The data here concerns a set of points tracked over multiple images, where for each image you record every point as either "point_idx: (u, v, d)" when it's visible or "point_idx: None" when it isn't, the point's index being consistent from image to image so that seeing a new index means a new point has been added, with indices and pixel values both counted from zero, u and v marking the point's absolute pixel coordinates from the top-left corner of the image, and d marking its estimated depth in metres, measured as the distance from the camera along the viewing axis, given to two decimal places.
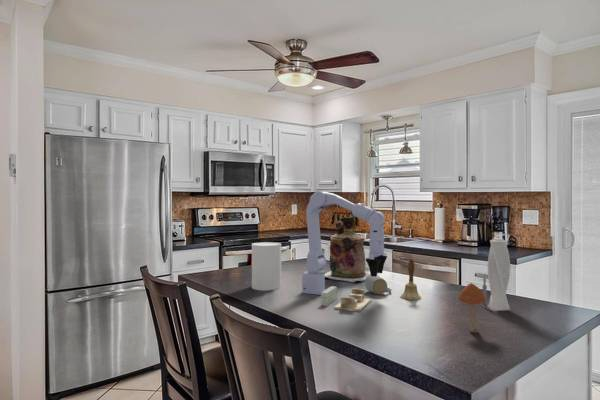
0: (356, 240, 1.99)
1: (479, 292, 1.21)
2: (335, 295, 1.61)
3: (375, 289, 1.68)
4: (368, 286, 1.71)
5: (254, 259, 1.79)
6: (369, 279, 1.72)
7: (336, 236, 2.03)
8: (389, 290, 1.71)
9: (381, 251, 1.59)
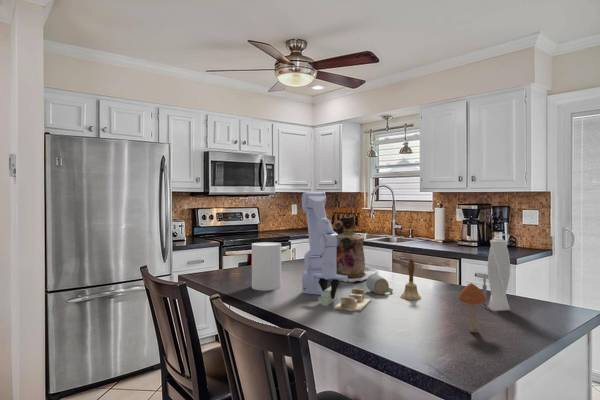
0: (355, 240, 1.99)
1: (479, 292, 1.21)
2: (335, 294, 1.61)
3: (376, 289, 1.68)
4: (369, 286, 1.71)
5: (254, 259, 1.79)
6: (370, 279, 1.72)
7: None
8: (390, 290, 1.71)
9: (323, 274, 1.57)
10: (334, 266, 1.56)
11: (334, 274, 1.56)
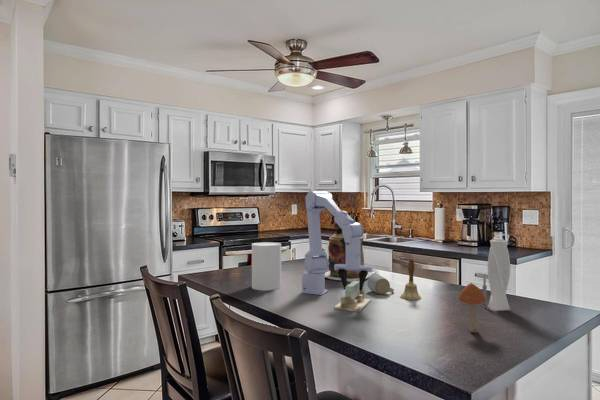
0: None
1: (479, 292, 1.21)
2: (358, 289, 1.57)
3: (378, 289, 1.68)
4: (371, 286, 1.72)
5: (254, 259, 1.79)
6: (372, 279, 1.72)
7: (335, 236, 2.03)
8: (392, 290, 1.71)
9: (347, 264, 1.52)
10: (358, 256, 1.51)
11: (358, 265, 1.51)
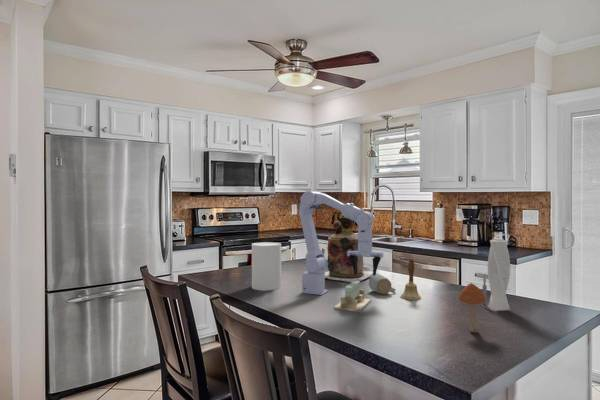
0: (354, 240, 1.99)
1: (479, 292, 1.21)
2: (358, 289, 1.57)
3: (379, 289, 1.68)
4: (372, 286, 1.72)
5: (254, 259, 1.79)
6: (373, 279, 1.72)
7: (334, 236, 2.03)
8: (393, 290, 1.71)
9: (360, 251, 1.61)
10: (370, 243, 1.61)
11: (370, 251, 1.61)
